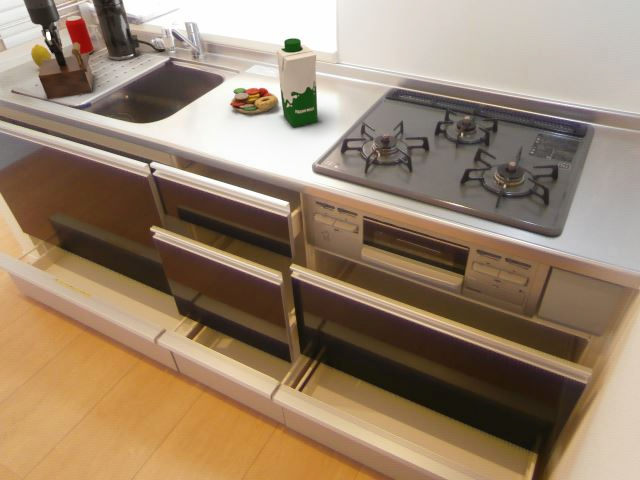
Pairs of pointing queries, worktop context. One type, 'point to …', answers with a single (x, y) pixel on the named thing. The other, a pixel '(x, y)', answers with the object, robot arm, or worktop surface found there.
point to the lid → (72, 64)
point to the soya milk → (298, 82)
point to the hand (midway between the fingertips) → (62, 64)
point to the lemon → (40, 54)
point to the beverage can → (79, 34)
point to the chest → (68, 84)
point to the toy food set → (253, 100)
